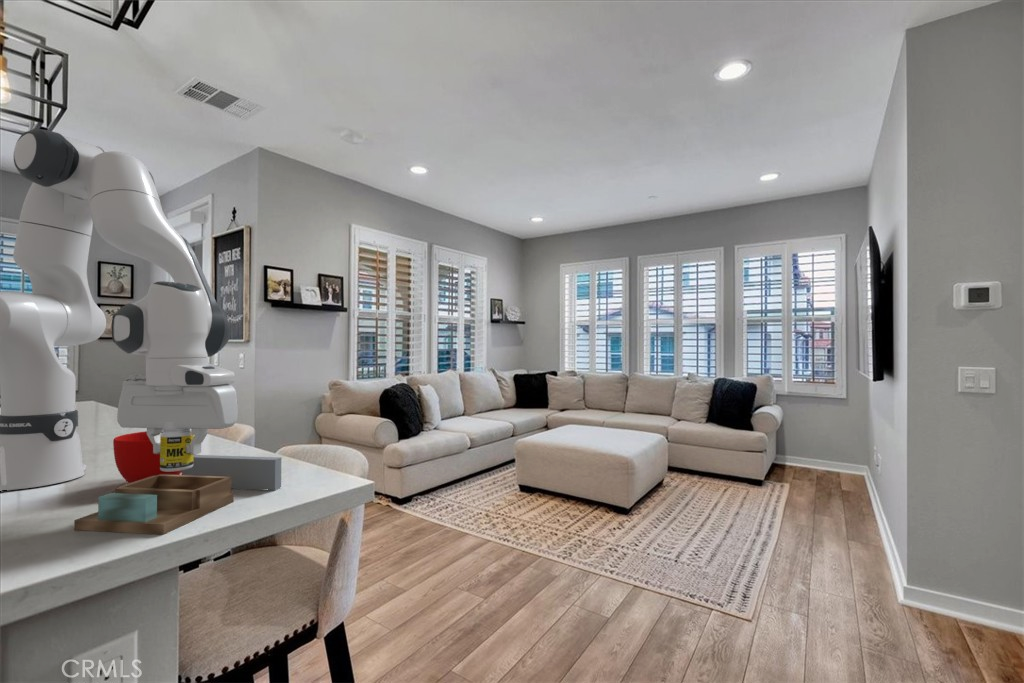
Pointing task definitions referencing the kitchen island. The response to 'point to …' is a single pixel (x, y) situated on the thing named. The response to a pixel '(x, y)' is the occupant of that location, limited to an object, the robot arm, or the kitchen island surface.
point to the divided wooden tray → (158, 504)
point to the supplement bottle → (175, 448)
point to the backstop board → (240, 470)
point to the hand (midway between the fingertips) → (177, 453)
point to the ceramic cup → (137, 457)
